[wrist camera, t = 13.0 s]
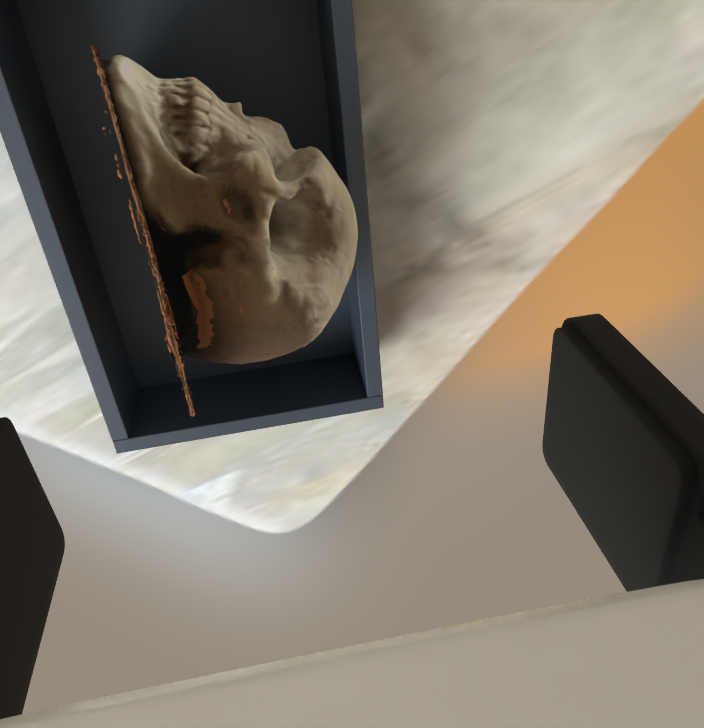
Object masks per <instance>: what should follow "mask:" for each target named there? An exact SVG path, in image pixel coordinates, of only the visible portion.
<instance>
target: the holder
mask: <svg viewBox="0 0 704 728" xmlns="http://www.w3.org/2000/svg"><path fill="white" fill-rule="evenodd" d="M92 45H94V47H96V49H97V51H98V52H99V55H98V56H100V57H101V59H103V60H108V59H109V58H112V56H116V55H122V56H125V57H127V58H129V59H131V60H133V61H134V62H136V63H137V64H139V65H140V66H142V67H143V68H144V69H146V70H147V71H148V72H150V73H151V74H152V75H154V76H155V77H157V78H160V79H176V78H181V79H182V78H185V77H194V78H196V79H198V80H199V81H201V82H202V83H203V84H204V85H206V86H207V87H208V88H209V89H211V90H212V91H213V92H214V94H215V95H216V96H217V97H218V98H219V99H220V100H222V101H223V102H227V103H238V102H240V103H241V105H242V113H243V114H244V115H245V116H250V117H256V116H258V117H263V118H267V119H270V120H272V121H275V122H277V123H278V124H281V125H282V126H283V128H284V130H285V131H286V134H287V137H288V139H289V142H290V144H291V146H292V148H293V149H295V150H297V149H300V148H307V147H309V146H311V147H315V148H317V149H318V150H320V151H321V152H322V154H324V156H325V157H326V159H327V160H328V161H329V163H330V164H331V165H332V167H333V168H334V170H335V171H336V173H337V175H338V176H339V177H340V179H341V180H342V182H343V183H344V185H345V186H346V188H347V190H348V192H349V194H350V196H351V199H352V201H353V205H354V208H355V213H356V218H357V227H358V241H357V250H356V256H355V262H354V266H353V270H352V273H351V276H350V278H349V281H348V283H347V285H346V288H345V290H344V293H343V295H342V297H341V300H340V303H339V305H338V307H337V309H336V310H335V312H334V314H333V315H332V317H331V318H330V320H329V322H328V323H327V325H326V326H325V327H324V329H323V330H322V332H321V333H320V334H319V335H318V336H317V337H316V338H315V339H314V340H312V341H311V342H310V343H309V344H307V346H304V347H302V348H299V349H297V350H295V351H293V352H291V353H288V354H286V355H283V356H279V357H276V358H273V359H270V360H266V361H259V362H252V363H246V364H228V363H217V362H209V361H202V360H199V359H196V358H190V357H188V356H183V357H182V358H181V362H182V364H183V361H184V363H185V364H184V367H183V368H184V374H185V379H186V381H187V385H188V386H190V388H189V390H190V391H191V392H190V393H189V394H190V395H191V397H190V398H191V399H192V404H193V406H194V407H193V409H194V412H195V416H193V417H192V416H190V414H189V410H188V403H187V401H186V397H185V391H184V390H182V388H183V384H182V381H181V379H180V378H179V377H178V376H177V373H178V372H177V371H176V368H175V363H172V361H171V358H170V353H172V352H170V351H169V349H168V347H167V344H169V342H168V341H165V336H166V334H167V332H166V331H167V330H166V325H165V322H164V315H163V314H162V311H161V307H160V302H159V300H158V295H157V290H156V286H155V281H154V277H153V272H152V268H151V265H149V263H148V261H149V258H148V255H147V252H146V248H145V244H144V241H143V238H142V234H141V228H140V222H139V220H138V216H137V212H136V208H135V202H134V198H133V195H132V190H131V186H130V183H129V180H128V176H127V174H126V173H125V167H124V162H123V158H122V155H121V152H120V147H119V143H118V140H117V137H116V133H115V129H114V125H113V122H112V119H111V113H110V110H109V107H108V106H107V103H106V101H105V99H104V97H103V96H105V95H104V93H103V88H102V86H101V78H100V75H98V74H97V71H98V70H96V69H97V64H96V62H95V61H94V59H93V58H94V54H93V52H92V48H91V47H90V46H92ZM105 111H106V112H107V113H106V112H105ZM103 127H105V128H106V129H104V130H103ZM109 130H111V131H110V132H111V134H110V133H109ZM0 132H1V135H2V138H3V140H4V143H5V146H6V149H7V151H8V154H9V157H10V160H11V163H12V165H13V168H14V171H15V174H16V176H17V179H18V182H19V185H20V187H21V190H22V193H23V196H24V198H25V201H26V204H27V207H28V209H29V212H30V215H31V218H32V220H33V223H34V226H35V229H36V231H37V234H38V237H39V240H40V242H41V245H42V248H43V251H44V254H45V256H46V259H47V262H48V265H49V267H50V270H51V273H52V276H53V278H54V281H55V284H56V287H57V289H58V292H59V295H60V298H61V300H62V303H63V306H64V309H65V311H66V314H67V317H68V320H69V322H70V325H71V328H72V331H73V333H74V336H75V339H76V342H77V345H78V347H79V350H80V353H81V356H82V358H83V361H84V364H85V367H86V369H87V372H88V375H89V378H90V380H91V383H92V386H93V389H94V391H95V394H96V397H97V400H98V402H99V405H100V408H101V411H102V413H103V416H104V419H105V422H106V424H107V427H108V430H109V433H110V436H111V438H112V441H113V444H114V446H115V449H116V452H117V453H122V452H128V451H134V450H140V449H145V448H151V447H157V446H163V445H169V444H175V443H180V442H186V441H192V440H198V439H204V438H209V437H215V436H221V435H227V434H233V433H239V432H244V431H250V430H256V429H262V428H268V427H274V426H279V425H285V424H291V423H297V422H303V421H308V420H314V419H320V418H326V417H332V416H338V415H343V414H349V413H355V412H361V411H367V410H372V409H378V408H383V407H384V405H383V395H382V394H383V392H382V379H381V366H380V353H379V340H378V328H377V315H376V302H375V289H374V276H373V263H372V251H371V238H370V225H369V212H368V199H367V186H366V174H365V161H364V148H363V135H362V122H361V109H360V97H359V84H358V71H357V58H356V45H355V32H354V20H353V7H352V0H0ZM105 133H106V135H105ZM96 138H97V139H96ZM116 153H117V156H118V161H117V160H115V154H116ZM117 162H118V163H119V168H118V167H117ZM118 169H119V170H120V172H121V174H122V178H120V177H119V176H118V173H117V170H118ZM129 200H130V201H131V207H132V208H133V209H132V210H133V214H134V218H135V222H136V224H137V229H138V231H139V238H140V241H141V243H140V241H139V240H138V235H137V233H136V229H135V227H134V220H133V219H132V216H131V210H130V209H129V203H130V202H129ZM150 271H151V272H150ZM153 281H154V283H153ZM182 392H183V393H182ZM180 393H181V394H180ZM191 393H192V394H191ZM182 395H183V396H182ZM183 399H184V400H183Z"/></svg>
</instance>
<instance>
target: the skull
mask: <svg viewBox="0 0 704 728" xmlns="http://www.w3.org/2000/svg"><path fill="white" fill-rule="evenodd" d="M90 47H91V48H92V52H93V54H94V58H93V59H94V61H95V62H96V64H97V69H96V70H98V71H97V74H98V75H100V78H101V86H102V88H103V93H104V95H105V96H103V97H104V99H105V101H106V103H107V106H108V107H109V110H110V113H111V119H112V122H113V125H114V129H115V133H116V137H117V140H118V143H119V147H120V152H121V155H122V158H123V162H124V167H125V173H126V174H127V176H128V180H129V183H130V186H131V190H132V195H133V198H134V202H135V208H136V212H137V216H138V220H139V222H140V228H141V234H142V238H143V241H144V244H145V248H146V252H147V255H148V258H149V261H148V263H149V265H151V268H152V272H153V277H154V281H155V286H156V290H157V295H158V300H159V302H160V307H161V311H162V314H163V315H164V322H165V325H166V330H167V331H166V332H167V334H166V336H165V341H168V342H169V344H167V347H168V349H169V351H170V352H172V353H170V358H171V361H172V363H175V368H176V371H177V372H178V373H177V376H178V377H179V378H180V379H181V381H182V384H183V388H182V390H184V391H185V397H186V401H187V403H188V410H189V414H190V416H192V417H193V416H195V412H194V409H193V407H194V406H193V404H192V399H191V398H190V397H191V395H190V394H189V393H190V392H191V391H190V390H189V388H190V386H188V385H187V381H186V379H185V374H184V368H183V367H184V364H185V363H184V361H183V364H182V362H181V358H182V357H183V356H188V357H190V358H196V359H199V360H202V361H209V362H217V363H228V364H246V363H252V362H259V361H266V360H270V359H273V358H276V357H279V356H283V355H286V354H288V353H291V352H293V351H295V350H297V349H299V348H302V347H304V346H307V344H309V343H310V342H311V341H312V340H314V339H315V338H316V337H317V336H318V335H319V334H320V333H321V332H322V330H323V329H324V327H325V326H326V325H327V323H328V322H329V320H330V318H331V317H332V315H333V314H334V312H335V310H336V309H337V307H338V305H339V303H340V300H341V297H342V295H343V293H344V290H345V288H346V285H347V283H348V281H349V278H350V276H351V273H352V270H353V266H354V262H355V256H356V250H357V241H358V227H357V218H356V213H355V208H354V205H353V201H352V199H351V196H350V194H349V192H348V190H347V188H346V186H345V185H344V183H343V182H342V180H341V179H340V177H339V176H338V175H337V173H336V171H335V170H334V168H333V167H332V165H331V164H330V163H329V161H328V160H327V159H326V157H325V156H324V154H322V152H321V151H320V150H318V149H317V148H315V147H311V146H309V147H307V148H300V149H297V150H295V149H293V148H292V146H291V144H290V142H289V139H288V137H287V134H286V131H285V130H284V128H283V126H282V125H281V124H278V123H277V122H275V121H272V120H270V119H267V118H263V117H258V116H256V117H250V116H245V115H244V114H243V113H242V105H241V103H240V102H238V103H227V102H223V101H222V100H220V99H219V98H218V97H217V96H216V95H215V94H214V92H213V91H212V90H211V89H209V88H208V87H207V86H206V85H204V84H203V83H202V82H201V81H199V80H198V79H196V78H194V77H185V78H182V79H181V78H176V79H160V78H157V77H155V76H154V75H152V74H151V73H150V72H148V71H147V70H146V69H144V68H143V67H142V66H140V65H139V64H137V63H136V62H134V61H133V60H131V59H129V58H127V57H125V56H122V55H116V56H112V58H109V59H108V60H103V59H101V57H100V56H98V55H99V52H98V51H97V49H96V47H94V45H92V46H90ZM105 112H106V111H105ZM106 113H107V112H106ZM104 129H106V128H105V127H103V130H104ZM110 131H111V130H109V133H110V134H111V132H110ZM105 135H106V133H105ZM96 139H97V138H96ZM115 160H117V161H118V156H117V153H116V154H115ZM117 167H118V168H119V163H118V162H117ZM117 173H118V176H119V177H120V178H122V174H121V172H120V170H119V169H118V170H117ZM129 202H130V203H129V209H130V210H131V216H132V219H133V220H134V227H135V229H136V233H137V235H138V240H139V241H140V238H139V231H138V229H137V224H136V222H135V218H134V214H133V210H132V209H133V208H132V207H131V201H130V200H129ZM140 243H141V241H140ZM150 272H151V271H150ZM154 281H153V283H154ZM182 393H183V392H182ZM180 394H181V393H180ZM191 394H192V393H191ZM182 396H183V395H182ZM183 400H184V399H183Z"/></svg>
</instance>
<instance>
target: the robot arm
mask: <svg viewBox="0 0 704 728" xmlns="http://www.w3.org/2000/svg"><path fill="white" fill-rule="evenodd" d="M543 454H544V458H545V460H546V463H547V465H548V466H549V468H550V470H551V471H552V473H553V474H554V476H555V478H556V479H557V481H558V482H559V484H560V486H561V487H562V489H563V490H564V492H565V494H566V495H567V497H568V498H569V500H570V501H571V503H572V504H573V506H574V508H575V509H576V511H577V513H578V514H579V516H580V517H581V519H582V521H583V522H584V524H585V525H586V527H587V529H588V530H589V532H590V533H591V535H592V536H593V538H594V540H595V541H596V543H597V545H598V546H599V548H600V549H601V551H602V553H603V554H604V556H605V557H606V559H607V561H608V562H609V564H610V565H611V567H612V569H613V570H614V572H615V573H616V575H617V577H618V578H619V580H620V581H621V583H622V585H623V586H624V588H625V589H626V591H627V592H623V593H618V594H613V595H607V596H601V597H595V598H590V599H585V600H580V601H575V602H569V603H565V604H560V605H554V606H550V607H544V608H539V609H534V610H529V611H524V612H518V613H513V614H509V615H503V616H498V617H494V618H488V619H483V620H478V621H473V622H468V623H463V624H457V625H453V626H447V627H442V628H437V629H433V630H427V631H422V632H417V633H412V634H407V635H402V636H397V637H392V638H387V639H383V640H378V641H372V642H367V643H363V644H358V645H353V646H348V647H343V648H338V649H333V650H328V651H323V652H318V653H313V654H308V655H304V656H299V657H294V658H288V659H284V660H279V661H274V662H269V663H264V664H259V665H254V666H250V667H244V668H239V669H234V670H230V671H225V672H220V673H215V674H211V675H205V676H201V677H196V678H191V679H186V680H181V681H177V682H172V683H167V684H162V685H157V686H153V687H148V688H143V689H138V690H134V691H128V692H124V693H119V694H114V695H109V696H104V697H100V698H95V699H90V700H85V701H80V702H76V703H71V704H66V705H62V706H57V707H53V708H48V709H44V710H39V711H35V712H31V713H26V714H22V711H23V708H24V704H25V700H26V696H27V692H28V688H29V684H30V680H31V676H32V673H33V669H34V665H35V661H36V658H37V654H38V649H39V646H40V642H41V638H42V635H43V631H44V627H45V623H46V619H47V615H48V612H49V608H50V604H51V600H52V596H53V592H54V588H55V585H56V581H57V577H58V573H59V569H60V565H61V562H62V558H63V554H64V547H65V542H64V535H63V531H62V528H61V526H60V524H59V522H58V520H57V518H56V516H55V513H54V511H53V509H52V507H51V505H50V503H49V501H48V499H47V496H46V494H45V492H44V490H43V488H42V486H41V484H40V482H39V479H38V477H37V475H36V473H35V471H34V468H33V466H32V464H31V462H30V460H29V458H28V456H27V454H26V451H25V449H24V447H23V445H22V443H21V441H20V438H19V436H18V434H17V432H16V430H15V428H14V426H13V424H12V422H11V420H9V419H8V418H6V417H3V418H0V728H704V414H703V413H702V412H701V411H700V410H699V409H698V408H697V407H696V406H694V404H692V402H691V401H690V400H688V399H687V398H686V397H685V396H684V395H683V394H682V393H681V392H680V391H679V390H678V389H677V388H676V387H675V386H674V385H673V384H672V383H671V382H670V381H669V380H668V379H667V378H666V377H665V376H664V375H663V374H662V373H661V372H660V371H659V370H658V369H657V368H656V367H655V366H654V365H653V364H652V363H650V362H649V361H648V360H647V359H646V358H645V357H644V356H643V355H642V354H641V353H640V352H639V351H638V350H637V349H636V348H635V347H634V346H633V345H632V344H631V343H630V342H629V341H628V340H627V339H626V338H625V337H624V336H623V335H622V334H621V333H620V332H619V331H618V330H617V329H616V328H615V327H614V326H612V325H611V324H610V323H609V322H608V321H607V320H606V319H605V318H604V317H603V316H602V315H600V314H592V315H586V316H579V317H573V318H567V319H566V320H565V321H564V323H563V325H562V327H561V328H557V329H556V330H555V332H554V335H553V344H552V354H551V364H550V374H549V384H548V395H547V405H546V414H545V424H544V435H543Z"/></svg>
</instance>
